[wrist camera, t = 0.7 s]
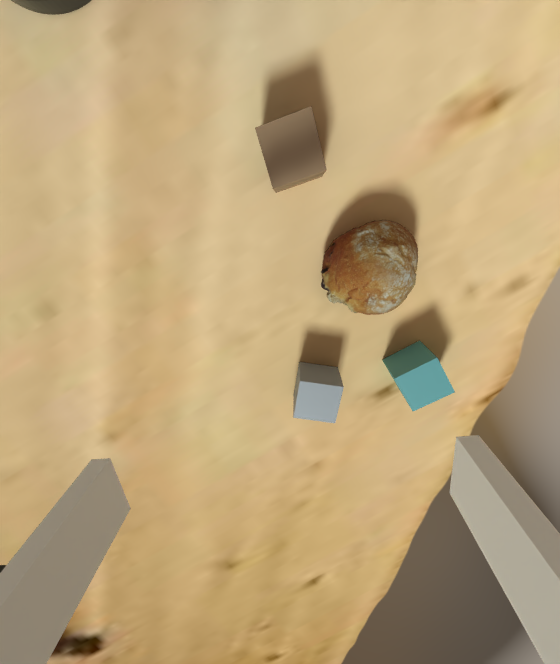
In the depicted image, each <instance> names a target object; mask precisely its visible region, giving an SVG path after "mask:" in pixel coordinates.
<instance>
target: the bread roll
mask: <svg viewBox="0 0 560 664" xmlns="http://www.w3.org/2000/svg"><path fill="white" fill-rule="evenodd" d="M417 262H418V248H417V244H416V241H415V239H414V238H413V236H412V234H411V233H410V232H409V231H408V230H407V229H406V228H405V227H403V226H402V225H400V224H398V223H395V222H392V221H387V220H381V221H373V222H371V223H366V224H365V225H363V226H360V227H359V228H353V229H352V230H350V231H348V232H346V233H345V234H343V235H341V236H340V237H338V238H336V239H335V240H334V241H333V242H332V244H331V245H330V248H329V249H328V250H327V251H326V253H325V255H324V260H323V267H322V271H321V273H322V277H323V279H322V283H321V287H322V288H323V289H325V290H328V293H327V297H328V299H329V301H330V302H332V303H337V302H339V303H343V304H344V305H347V306H348V308H349V309H350V310H351V311H352V312H354V313H357V312H359V313H363V314H367V315H370V314H384V313H387V312H390V311H392V310H393V309H395V308H397V307H398V306H399V305H400V304H401V303H402V302H403V301H404V300H405V299H406V298H407V295H408V294H409V293H410V291H411V290H412V288H413V287H414V285H415V280H416V273H415V272H416V270H417ZM345 299H346V300H345Z"/></svg>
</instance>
